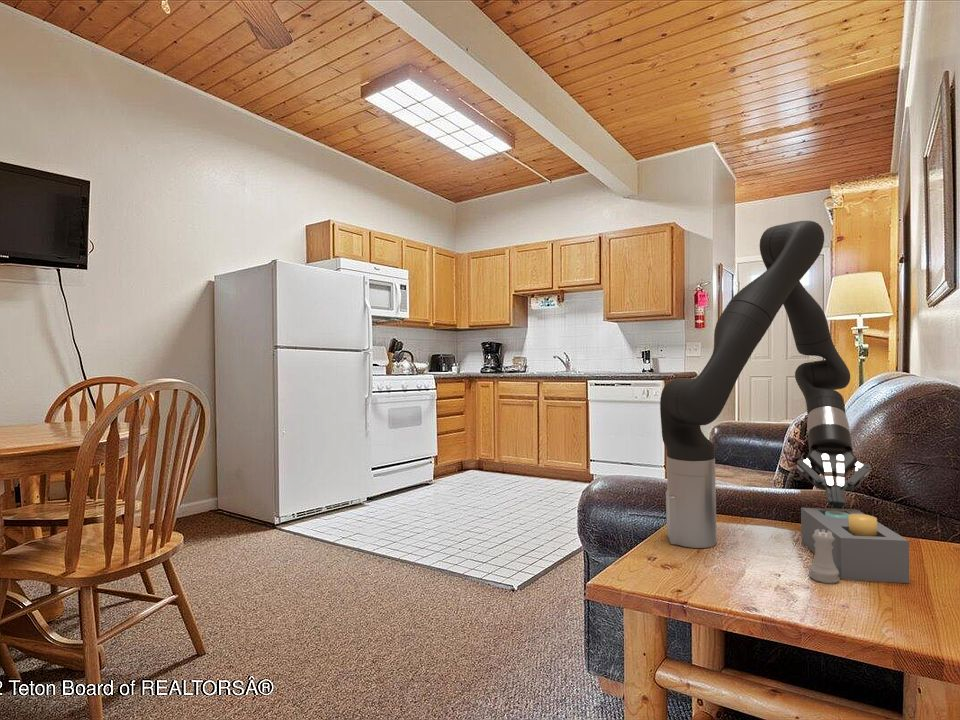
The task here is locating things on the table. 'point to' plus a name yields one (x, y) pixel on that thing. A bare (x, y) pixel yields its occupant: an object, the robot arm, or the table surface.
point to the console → (859, 548)
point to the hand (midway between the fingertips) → (837, 506)
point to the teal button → (836, 514)
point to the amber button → (862, 525)
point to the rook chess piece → (823, 559)
